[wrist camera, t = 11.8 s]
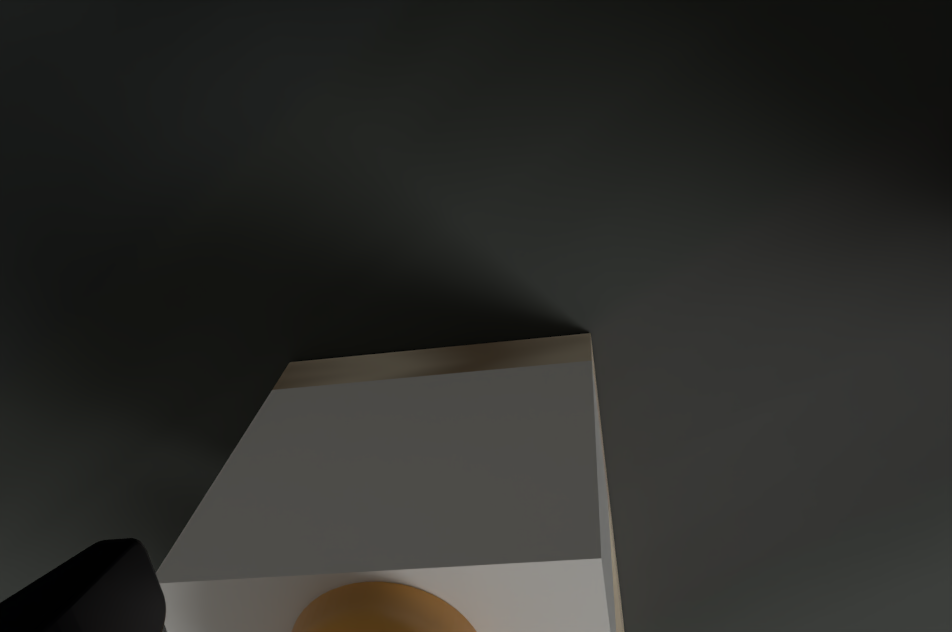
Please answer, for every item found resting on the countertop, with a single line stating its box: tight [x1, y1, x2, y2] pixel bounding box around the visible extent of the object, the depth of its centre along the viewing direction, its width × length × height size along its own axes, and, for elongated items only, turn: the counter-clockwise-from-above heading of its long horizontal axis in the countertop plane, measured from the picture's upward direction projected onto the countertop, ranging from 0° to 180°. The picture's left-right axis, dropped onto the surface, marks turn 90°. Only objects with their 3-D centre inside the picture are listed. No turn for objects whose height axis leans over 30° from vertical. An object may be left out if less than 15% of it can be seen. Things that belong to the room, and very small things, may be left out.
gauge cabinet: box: [156, 361, 616, 632], centre depth 19 cm, size 8×5×7 cm, turn 99°
